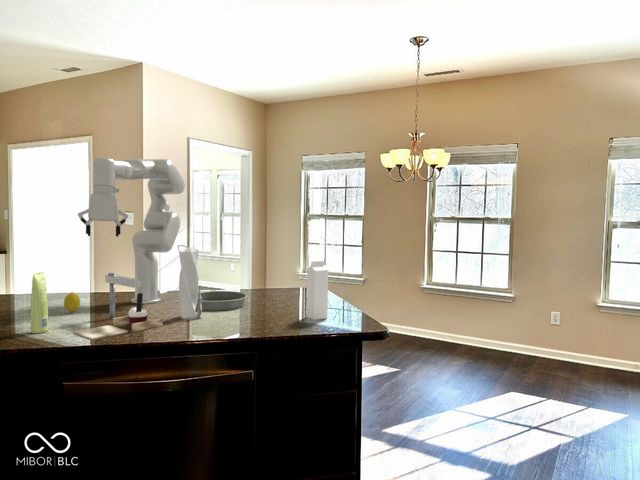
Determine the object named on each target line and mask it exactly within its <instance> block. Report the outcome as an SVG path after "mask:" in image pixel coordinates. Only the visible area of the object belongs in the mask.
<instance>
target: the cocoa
mask: <svg viewBox="0 0 640 480" xmlns="http://www.w3.org/2000/svg"><path fill="white" fill-rule="evenodd" d="M142 297H143V294H142V293H138V294H137V303H136V306H135V307H131V308H130V309H129V310H128V315H127V316H128V318H129V323H128V324H129V325H130V326H132V324H133V323H139V322H144V321H148V311H147V310H146V309H144V308H142V307H143V304H142Z"/></svg>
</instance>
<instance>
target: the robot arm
mask: <svg viewBox="0 0 640 480" xmlns="http://www.w3.org/2000/svg"><path fill="white" fill-rule="evenodd" d="M92 162H93V164H92V165H93V166H92V193H91V194H90V195H89V201H88V208H87V209H85V210H82V211H79V212H78V213H77V216H78V218H79V219H80V221H81V222H82V223H83V224H84V225H85V234H86V235H87V237H91V223H92V222H93V221H94V222H95V221H98V222H106V221H107V222H114V223H115V224H116V226H115V237H118V238H119V235H121V226H122V225H123V224H125V223H126V221H127V220H128V218H129V215H128V214H127V213H125V212H123V211H121V210H119V202H118V201H119V200H118V197H117V194H116V193H119V192H120V189H119V188H117V187H116V181H126V180H133V181H135V180H136V181H137V180H147V179H149V180H148V182H147V189H148V193H149V196H150V201H151V202H150V206H149V208H148V210H147V212H146V215H145V218H144V220H143V228H144V229H145V230H138V231H136V232H134V234H133V236H132V238H131V241H132V247H133V254H134V278H135V279H141V287H136V288H134V297H133V298H131V301H130V302H131V303H133V304H137V294H138V293H142V294H143V297H142V305H143V304H144V305H145V304H154V303H160V302H161V301H162V296H166V295H168V291H167V290H159V289H158V287H159V285H158V283H159V281H158V279H159V278H158V276H159V275H158V274H159V273H158V269H159V268H158V267H159V264H158V259H157V256H156V255H155V253H168V252H170V251H171V250H172V248H173V247H174V245H175V241H176V238H177V236H178V233H179V231H180V228H181V218H180V216H179V214H178V213H176V212H174V211H170V209H171V207H170V206H171V205H170V202H169V201H168V200H167V198H166V197H165V195H180V194H182V193H184V191H185V188H186V187H185V186H186V183H185V180H184V178H183V176H182V175H181V173H180V172H179V170H178V169H177V167H176V166H175V164H174V163H173V162H172V161H171V160H170V159H165V158H163V159H159V158H158V159H154V158H152V159H151V158H150V159H149V158H148V159H147V158H146V159H141V158H139V159H132V158H131V159H123V160H122V159H120V160H115V159H113V158H109V157H95V158H94V159H93V161H92ZM84 215H88V220H86V219H85V218H84ZM119 215H120V216H122V217H123V218H122V219H121V220H119Z"/></svg>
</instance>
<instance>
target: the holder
mask: <svg viewBox="0 0 640 480" xmlns="http://www.w3.org/2000/svg"><path fill="white" fill-rule="evenodd" d="M128 316H129V315H125V316H119V317H115V318H113V319H112V326H114V327H117V326H122V325H127V324H130V323H129V318H128ZM159 327H163V318H162V317H161V318H156V319H150V320H147V321H144V322H139V323H133V324H132V325H131V332H139V331H143V330H147V329H153V328H159Z"/></svg>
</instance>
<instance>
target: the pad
mask: <svg viewBox="0 0 640 480" xmlns="http://www.w3.org/2000/svg"><path fill="white" fill-rule="evenodd" d="M72 333H73V334H74V335H77V336H80V337H83V338H86V339H89V340H91V341H92V340H97V339H102V338H107V337H112V336H117V335H123V334H128V333H129V330H127V329H123V328H119V327H117V326H113V325H111V324H109V325H103V326H96V327H92V328H88V329H87V328H86V329H80V330H75V331H73V332H72Z"/></svg>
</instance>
